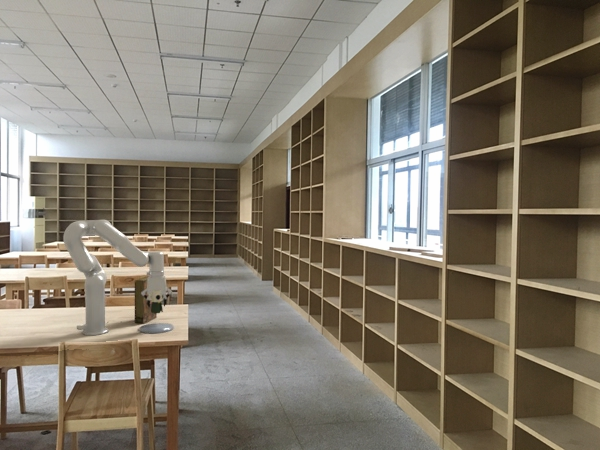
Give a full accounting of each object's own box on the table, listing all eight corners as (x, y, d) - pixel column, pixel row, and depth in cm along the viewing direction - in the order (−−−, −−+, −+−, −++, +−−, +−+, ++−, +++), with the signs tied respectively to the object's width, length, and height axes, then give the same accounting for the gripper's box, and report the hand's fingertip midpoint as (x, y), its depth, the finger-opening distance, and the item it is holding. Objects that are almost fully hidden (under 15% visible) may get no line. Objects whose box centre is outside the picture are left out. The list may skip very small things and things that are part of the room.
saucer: (138, 334, 249) (138, 332, 249) (140, 325, 266) (140, 324, 266) (173, 332, 254) (173, 330, 254) (173, 324, 271) (173, 322, 271)
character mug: (153, 316, 253) (153, 291, 252) (144, 314, 257) (144, 290, 256) (169, 311, 262) (168, 288, 262) (159, 310, 266) (159, 287, 265)
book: (149, 316, 287) (149, 275, 286) (157, 317, 286) (157, 276, 285) (134, 323, 271) (134, 280, 270) (143, 324, 270) (143, 280, 269)
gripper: (139, 275, 253) (139, 308, 253) (173, 274, 257) (173, 306, 258) (140, 273, 260) (140, 305, 261) (173, 272, 265) (173, 304, 265)
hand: (156, 306), depth 259 cm, fingers closed on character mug, 7 cm apart
